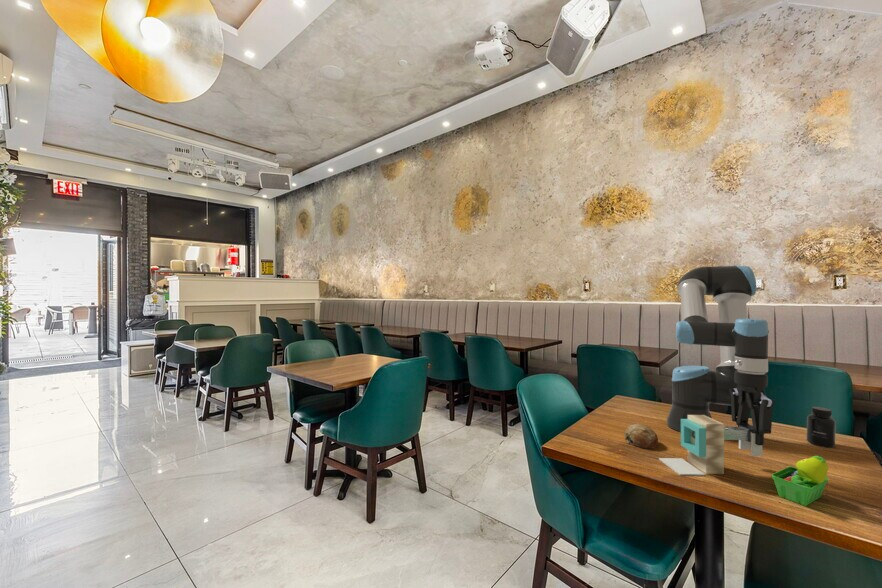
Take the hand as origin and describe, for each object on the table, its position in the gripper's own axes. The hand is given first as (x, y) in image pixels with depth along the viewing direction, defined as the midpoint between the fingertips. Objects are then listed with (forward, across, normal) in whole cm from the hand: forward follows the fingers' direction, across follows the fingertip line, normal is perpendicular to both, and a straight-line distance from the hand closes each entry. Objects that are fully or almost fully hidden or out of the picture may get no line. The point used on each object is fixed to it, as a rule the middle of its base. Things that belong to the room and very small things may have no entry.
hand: (750, 451), depth 108 cm
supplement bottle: (+5, -18, +39) cm, 43 cm away
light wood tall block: (+5, 0, -13) cm, 14 cm away
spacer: (0, 0, -17) cm, 17 cm away
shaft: (-4, 0, -7) cm, 8 cm away
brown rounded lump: (+5, -18, -22) cm, 29 cm away
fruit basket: (+5, +16, 0) cm, 17 cm away
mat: (+5, 0, -20) cm, 21 cm away
